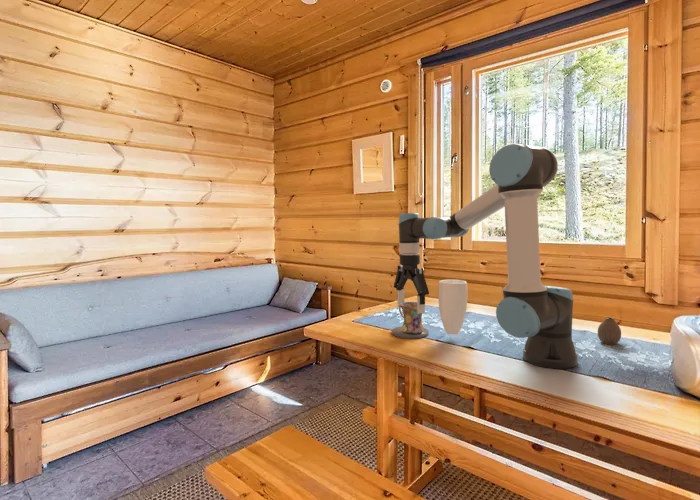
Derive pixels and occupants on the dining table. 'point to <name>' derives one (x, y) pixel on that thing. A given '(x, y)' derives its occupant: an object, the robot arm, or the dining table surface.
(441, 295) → the cup
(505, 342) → the dining table surface
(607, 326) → the vase
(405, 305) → the mug
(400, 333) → the disc
